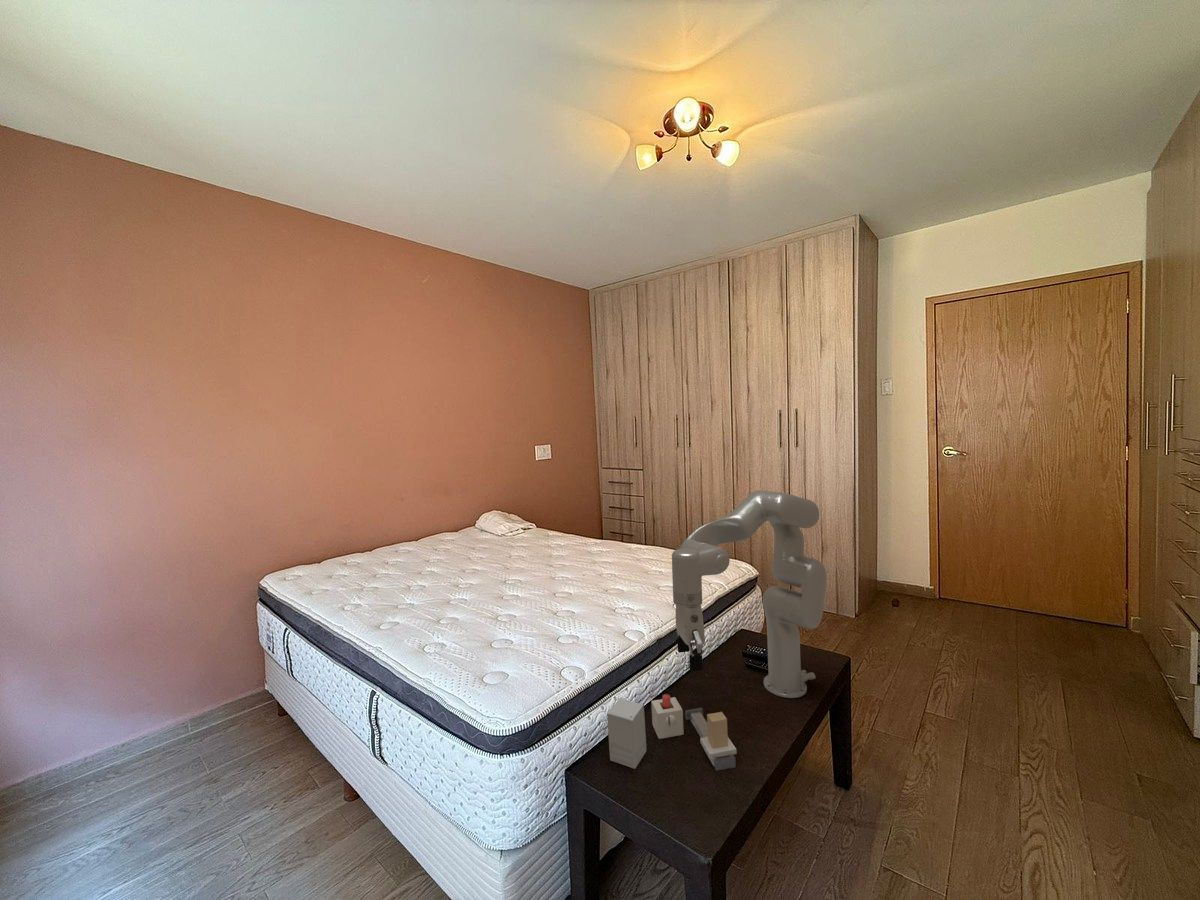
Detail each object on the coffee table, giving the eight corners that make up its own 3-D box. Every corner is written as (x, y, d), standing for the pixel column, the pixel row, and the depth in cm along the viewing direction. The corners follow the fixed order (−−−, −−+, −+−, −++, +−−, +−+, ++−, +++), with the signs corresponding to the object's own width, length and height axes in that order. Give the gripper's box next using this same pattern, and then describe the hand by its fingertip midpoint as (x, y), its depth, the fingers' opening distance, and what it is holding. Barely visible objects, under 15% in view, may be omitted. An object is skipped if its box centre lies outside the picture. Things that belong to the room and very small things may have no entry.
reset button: (669, 710, 128) (668, 693, 128) (672, 715, 126) (671, 698, 126) (662, 712, 128) (661, 694, 127) (664, 717, 125) (663, 699, 125)
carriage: (725, 745, 119) (724, 707, 119) (736, 761, 113) (735, 721, 113) (700, 750, 118) (699, 711, 118) (710, 767, 112) (708, 726, 112)
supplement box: (647, 751, 119) (645, 704, 118) (634, 770, 113) (632, 720, 112) (622, 742, 123) (619, 696, 122) (608, 760, 116) (606, 712, 116)
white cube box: (676, 720, 131) (675, 697, 130) (684, 736, 124) (683, 711, 124) (652, 724, 129) (651, 700, 129) (659, 740, 123) (658, 715, 122)
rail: (702, 715, 132) (701, 707, 132) (735, 767, 112) (735, 757, 112) (685, 718, 131) (685, 710, 131) (716, 770, 111) (716, 761, 111)
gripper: (714, 607, 112) (716, 676, 113) (690, 584, 129) (692, 643, 130) (684, 610, 111) (686, 679, 112) (664, 586, 128) (666, 646, 129)
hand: (689, 660), depth 121 cm, fingers open, 9 cm apart
